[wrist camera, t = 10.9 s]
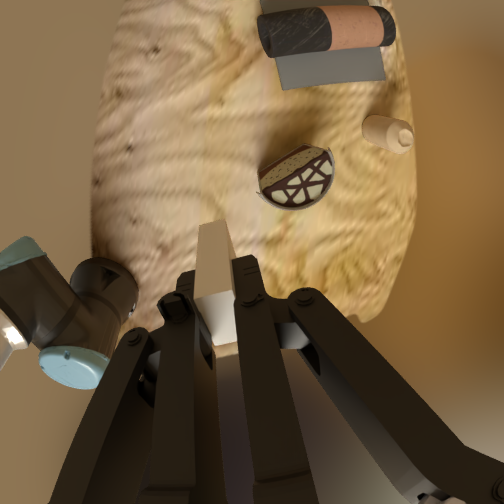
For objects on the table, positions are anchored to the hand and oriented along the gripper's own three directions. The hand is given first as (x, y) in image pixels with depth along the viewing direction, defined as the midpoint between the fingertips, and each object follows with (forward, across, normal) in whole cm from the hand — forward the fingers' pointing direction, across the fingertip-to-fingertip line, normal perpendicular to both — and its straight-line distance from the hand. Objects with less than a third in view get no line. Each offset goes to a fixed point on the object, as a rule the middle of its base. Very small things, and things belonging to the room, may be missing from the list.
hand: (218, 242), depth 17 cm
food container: (+33, +11, -7) cm, 35 cm away
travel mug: (+28, +11, +16) cm, 34 cm away
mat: (+32, +22, +16) cm, 42 cm away
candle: (+33, +28, -2) cm, 43 cm away
